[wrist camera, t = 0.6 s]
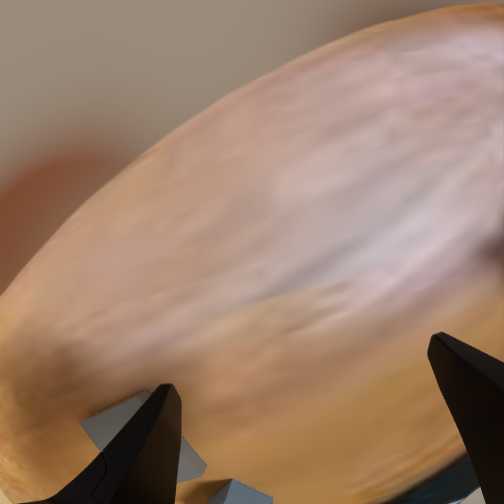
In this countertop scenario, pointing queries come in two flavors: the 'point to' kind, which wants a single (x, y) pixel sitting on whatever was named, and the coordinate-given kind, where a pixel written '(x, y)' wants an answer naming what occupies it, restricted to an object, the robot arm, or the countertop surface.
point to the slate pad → (116, 416)
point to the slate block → (239, 495)
